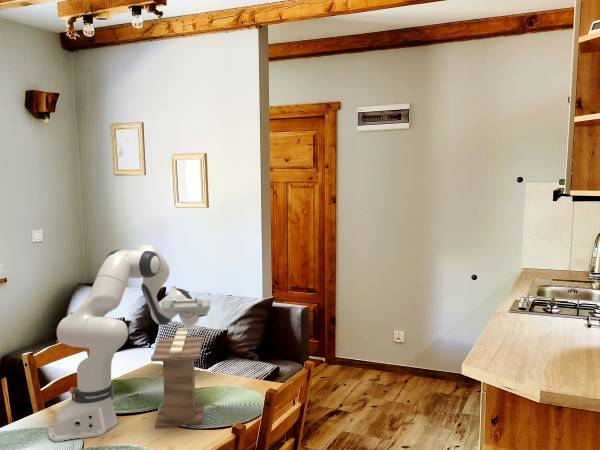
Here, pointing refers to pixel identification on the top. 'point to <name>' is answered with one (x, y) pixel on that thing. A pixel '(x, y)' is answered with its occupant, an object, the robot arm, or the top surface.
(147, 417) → the top surface
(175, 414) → the walnut stand
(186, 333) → the birch slat
